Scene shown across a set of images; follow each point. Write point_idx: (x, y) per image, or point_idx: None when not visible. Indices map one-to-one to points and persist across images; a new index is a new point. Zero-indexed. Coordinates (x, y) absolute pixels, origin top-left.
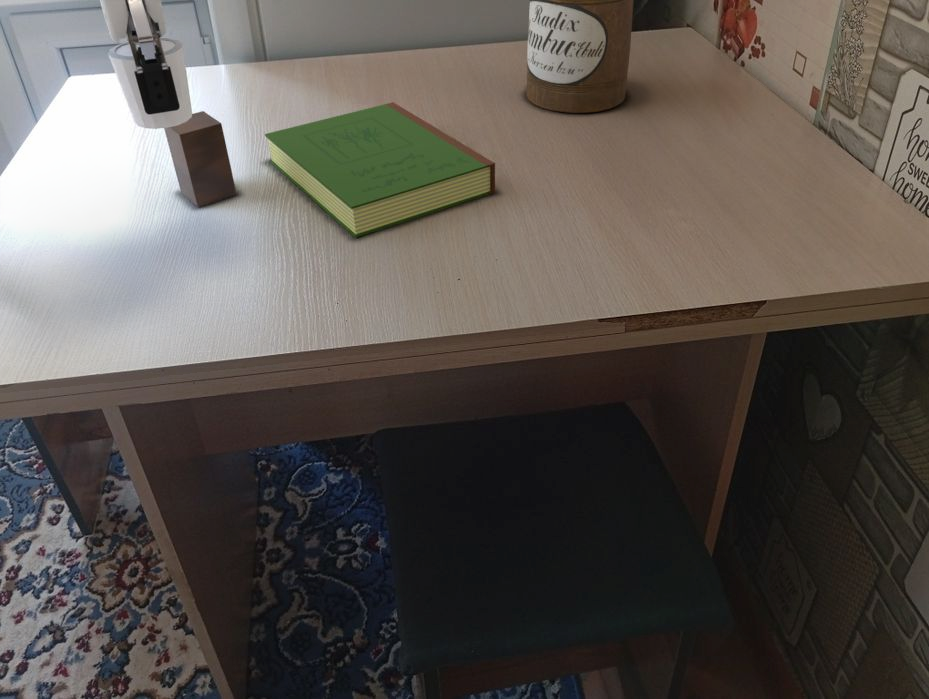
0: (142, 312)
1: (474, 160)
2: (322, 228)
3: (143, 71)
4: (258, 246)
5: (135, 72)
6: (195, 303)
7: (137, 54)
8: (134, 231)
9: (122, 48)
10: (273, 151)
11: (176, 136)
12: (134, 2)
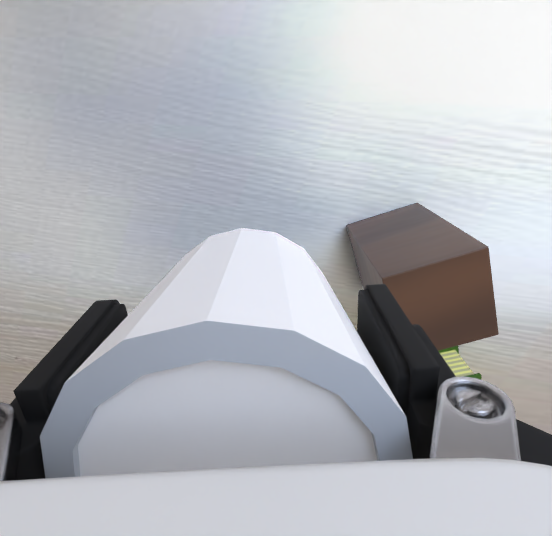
0: (28, 116)
1: None
2: None
3: (32, 421)
4: None
5: (21, 394)
6: (42, 196)
7: None
8: (305, 112)
9: (283, 389)
10: (448, 365)
11: (403, 266)
12: None
